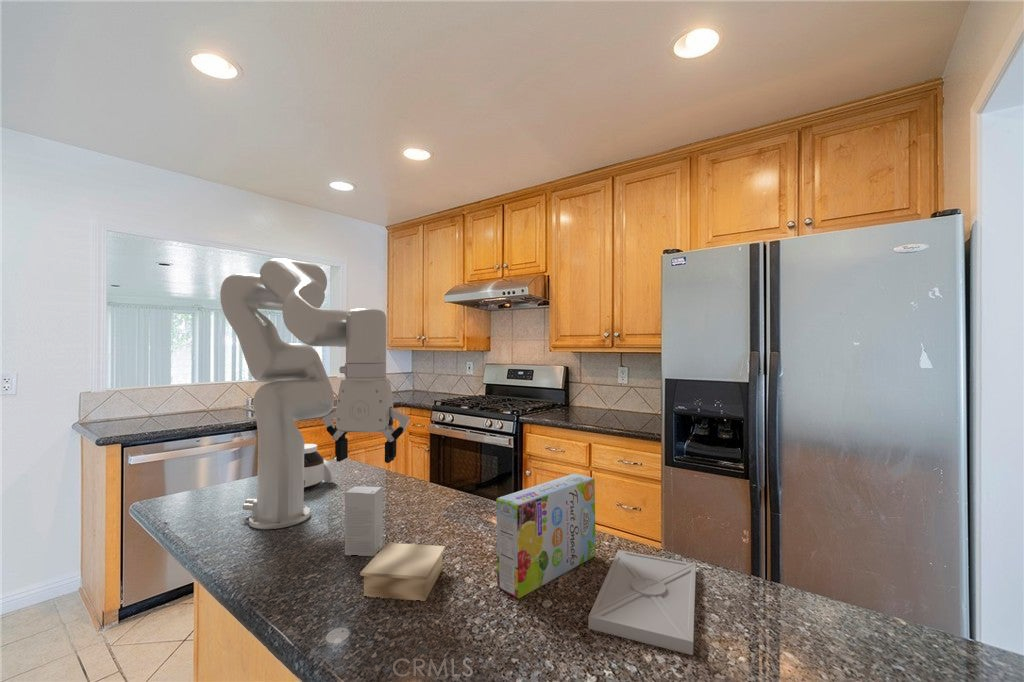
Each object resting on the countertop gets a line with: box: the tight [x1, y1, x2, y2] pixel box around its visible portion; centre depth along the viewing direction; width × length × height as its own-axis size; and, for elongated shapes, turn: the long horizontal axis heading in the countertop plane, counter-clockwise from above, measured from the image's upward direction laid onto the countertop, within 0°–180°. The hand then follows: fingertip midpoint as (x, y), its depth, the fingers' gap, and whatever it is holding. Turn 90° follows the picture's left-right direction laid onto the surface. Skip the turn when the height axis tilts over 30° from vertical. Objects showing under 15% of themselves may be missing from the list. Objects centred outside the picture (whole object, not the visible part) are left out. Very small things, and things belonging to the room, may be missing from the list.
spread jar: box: [304, 443, 337, 492], centre depth 127 cm, size 12×11×12 cm
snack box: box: [495, 473, 597, 599], centre depth 79 cm, size 21×6×15 cm, turn 134°
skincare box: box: [344, 485, 384, 557], centre depth 87 cm, size 6×4×12 cm
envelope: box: [587, 549, 697, 656], centre depth 71 cm, size 24×2×14 cm
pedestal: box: [359, 542, 446, 602], centre depth 75 cm, size 11×11×4 cm
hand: (365, 460), depth 87 cm, fingers open, 9 cm apart
